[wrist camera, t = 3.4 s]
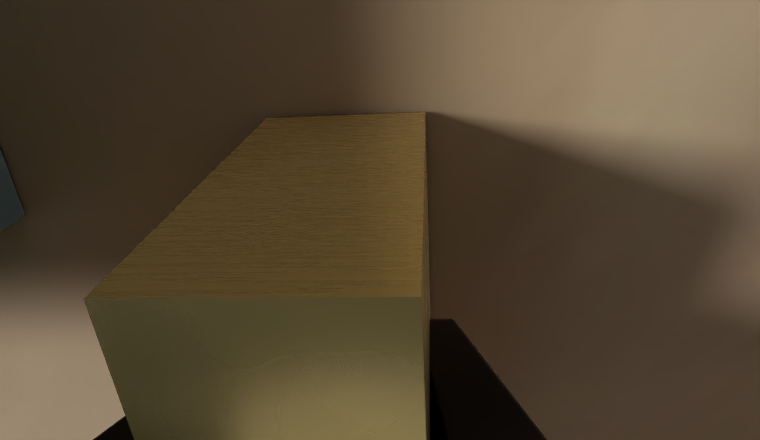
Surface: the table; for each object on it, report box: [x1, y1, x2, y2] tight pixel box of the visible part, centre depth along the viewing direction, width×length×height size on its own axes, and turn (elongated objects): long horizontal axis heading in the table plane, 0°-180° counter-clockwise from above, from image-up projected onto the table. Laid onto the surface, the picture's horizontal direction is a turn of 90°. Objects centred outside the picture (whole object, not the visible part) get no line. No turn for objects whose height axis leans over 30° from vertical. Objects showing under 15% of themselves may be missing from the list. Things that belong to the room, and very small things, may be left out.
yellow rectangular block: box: [84, 112, 432, 440], centre depth 7 cm, size 6×2×5 cm, turn 3°
